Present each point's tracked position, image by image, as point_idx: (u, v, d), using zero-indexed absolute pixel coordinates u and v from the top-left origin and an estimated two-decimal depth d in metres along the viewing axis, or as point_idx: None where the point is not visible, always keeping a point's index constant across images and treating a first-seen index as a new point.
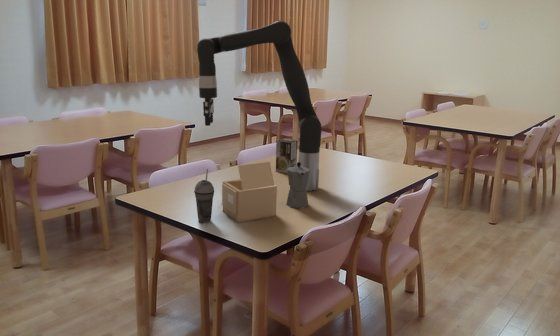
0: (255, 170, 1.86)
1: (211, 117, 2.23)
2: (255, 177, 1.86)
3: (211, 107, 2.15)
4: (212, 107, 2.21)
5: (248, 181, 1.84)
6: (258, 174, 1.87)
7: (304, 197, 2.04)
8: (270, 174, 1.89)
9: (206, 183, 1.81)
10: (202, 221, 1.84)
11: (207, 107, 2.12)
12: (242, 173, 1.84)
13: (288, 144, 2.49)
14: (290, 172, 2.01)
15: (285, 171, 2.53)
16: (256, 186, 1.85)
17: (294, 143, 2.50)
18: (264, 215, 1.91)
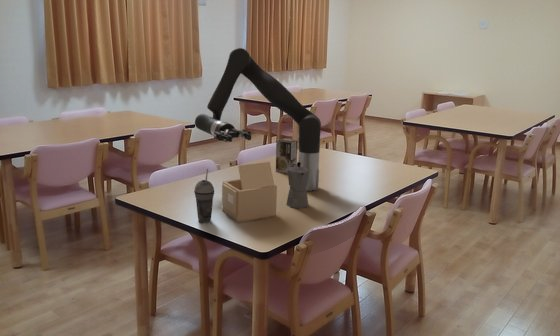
0: (255, 170, 1.86)
1: (246, 135, 1.98)
2: (255, 177, 1.86)
3: (225, 131, 1.99)
4: (237, 131, 2.01)
5: (248, 181, 1.84)
6: (258, 174, 1.87)
7: (304, 197, 2.04)
8: (270, 174, 1.89)
9: (206, 183, 1.81)
10: (202, 221, 1.84)
11: (215, 134, 1.98)
12: (242, 173, 1.84)
13: (288, 144, 2.49)
14: (290, 172, 2.01)
15: (285, 171, 2.53)
16: (256, 186, 1.85)
17: (294, 143, 2.50)
18: (264, 215, 1.91)
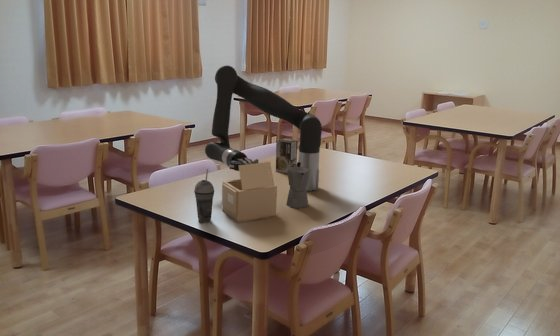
0: (255, 170, 1.86)
1: None
2: (255, 177, 1.86)
3: (241, 160, 1.92)
4: (246, 160, 1.94)
5: (248, 181, 1.84)
6: (258, 174, 1.87)
7: (304, 197, 2.04)
8: (270, 174, 1.89)
9: (206, 183, 1.81)
10: (202, 221, 1.84)
11: (234, 165, 1.90)
12: (242, 173, 1.84)
13: (288, 144, 2.49)
14: (290, 172, 2.01)
15: (285, 171, 2.53)
16: (256, 186, 1.85)
17: (294, 143, 2.50)
18: (264, 215, 1.91)
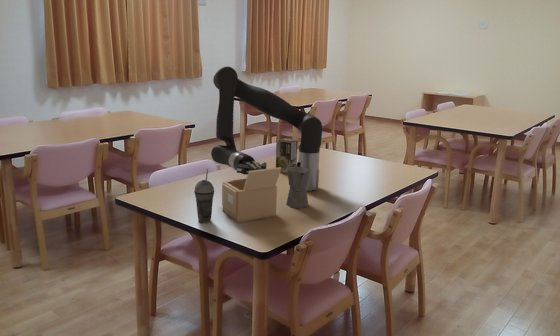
0: (263, 176, 1.82)
1: None
2: (260, 180, 1.83)
3: (248, 164, 1.87)
4: (253, 164, 1.89)
5: (252, 184, 1.82)
6: (264, 178, 1.83)
7: (304, 197, 2.04)
8: (276, 178, 1.86)
9: (206, 183, 1.81)
10: (202, 221, 1.84)
11: (242, 168, 1.85)
12: (249, 178, 1.79)
13: (288, 144, 2.49)
14: (290, 172, 2.01)
15: (285, 171, 2.53)
16: (257, 188, 1.85)
17: (294, 143, 2.50)
18: (264, 215, 1.91)
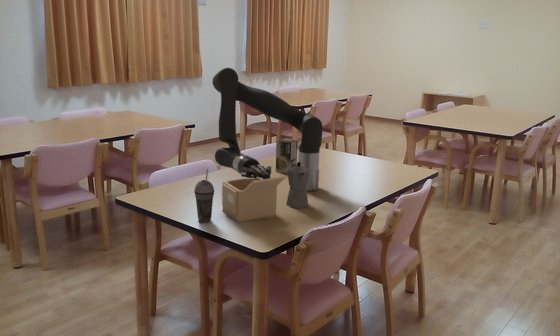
0: (266, 183, 1.80)
1: None
2: (262, 185, 1.82)
3: (253, 168, 1.84)
4: (258, 167, 1.85)
5: (253, 188, 1.81)
6: (267, 184, 1.82)
7: (304, 197, 2.04)
8: (278, 183, 1.85)
9: (206, 183, 1.81)
10: (202, 221, 1.84)
11: (246, 172, 1.82)
12: (252, 185, 1.78)
13: (288, 144, 2.49)
14: (290, 172, 2.01)
15: (285, 171, 2.53)
16: (258, 189, 1.85)
17: (294, 143, 2.50)
18: (264, 215, 1.91)
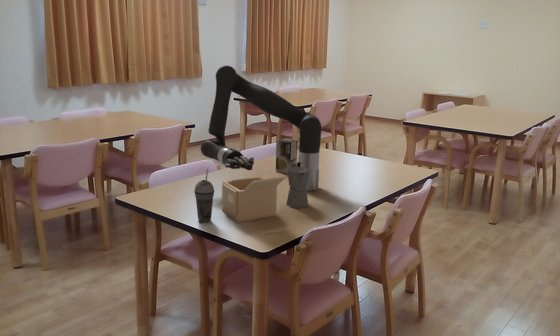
0: (266, 183, 1.80)
1: None
2: (262, 185, 1.82)
3: (237, 159, 1.96)
4: (241, 159, 1.97)
5: (253, 188, 1.81)
6: (267, 184, 1.82)
7: (304, 197, 2.04)
8: (278, 183, 1.85)
9: (206, 183, 1.81)
10: (202, 221, 1.84)
11: (230, 163, 1.94)
12: (252, 185, 1.78)
13: (288, 144, 2.49)
14: (290, 172, 2.01)
15: (285, 171, 2.53)
16: (258, 189, 1.85)
17: (294, 143, 2.50)
18: (264, 215, 1.91)
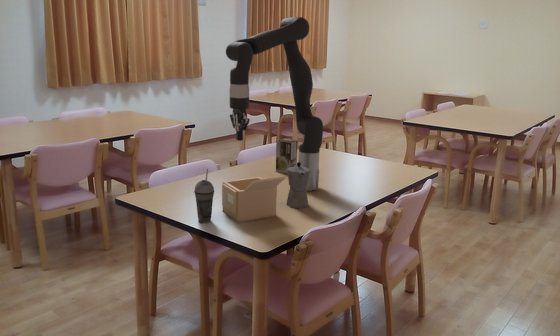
0: (266, 183, 1.80)
1: None
2: (262, 185, 1.82)
3: None
4: None
5: (253, 188, 1.81)
6: (267, 184, 1.82)
7: (304, 197, 2.04)
8: (278, 183, 1.85)
9: (206, 183, 1.81)
10: (202, 221, 1.84)
11: (246, 124, 1.92)
12: (252, 185, 1.78)
13: (288, 144, 2.49)
14: (290, 172, 2.01)
15: (285, 171, 2.53)
16: (258, 189, 1.85)
17: (294, 143, 2.50)
18: (264, 215, 1.91)
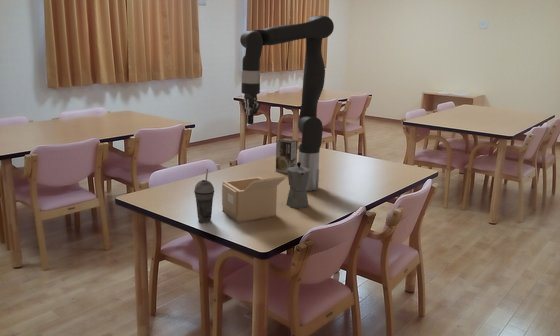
0: (266, 183, 1.80)
1: None
2: (262, 185, 1.82)
3: None
4: None
5: (253, 188, 1.81)
6: (267, 184, 1.82)
7: (304, 197, 2.04)
8: (278, 183, 1.85)
9: (206, 183, 1.81)
10: (202, 221, 1.84)
11: (257, 108, 2.04)
12: (252, 185, 1.78)
13: (288, 144, 2.49)
14: (290, 172, 2.01)
15: (285, 171, 2.53)
16: (258, 189, 1.85)
17: (294, 143, 2.50)
18: (264, 215, 1.91)
